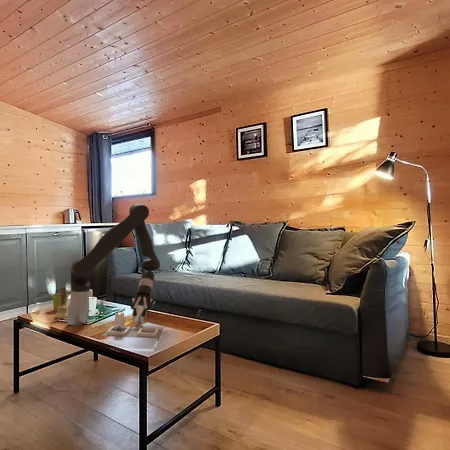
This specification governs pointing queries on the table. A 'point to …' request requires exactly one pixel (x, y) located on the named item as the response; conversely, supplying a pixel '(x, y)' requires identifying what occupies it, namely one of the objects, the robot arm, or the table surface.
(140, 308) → the block
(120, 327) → the block
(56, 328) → the table surface
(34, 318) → the table surface
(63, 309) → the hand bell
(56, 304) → the plant pot
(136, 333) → the pallet board
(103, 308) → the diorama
